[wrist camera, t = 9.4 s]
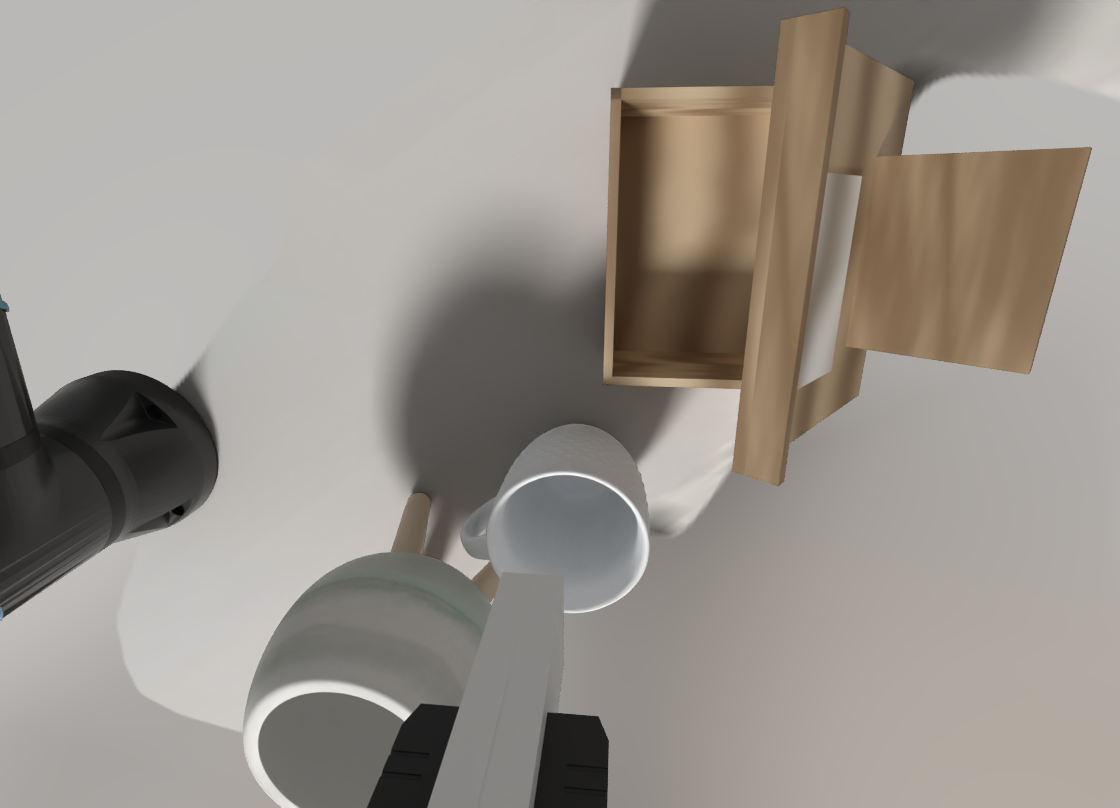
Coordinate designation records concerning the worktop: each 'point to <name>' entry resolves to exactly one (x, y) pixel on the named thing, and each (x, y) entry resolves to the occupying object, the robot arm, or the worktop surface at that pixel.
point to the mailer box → (682, 232)
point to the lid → (883, 243)
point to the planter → (361, 668)
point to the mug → (568, 517)
